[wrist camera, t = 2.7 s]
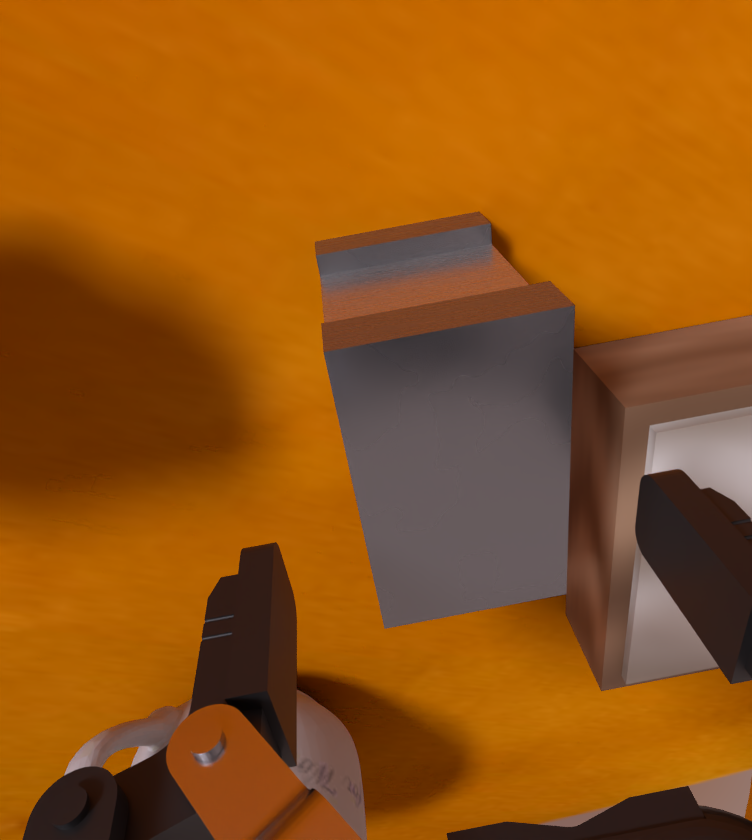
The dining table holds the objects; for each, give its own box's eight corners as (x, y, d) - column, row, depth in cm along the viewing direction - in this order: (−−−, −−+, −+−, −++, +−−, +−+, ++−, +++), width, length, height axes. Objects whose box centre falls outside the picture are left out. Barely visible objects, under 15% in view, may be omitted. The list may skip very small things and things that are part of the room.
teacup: (390, 734, 33) (415, 916, 26) (214, 799, 34) (194, 987, 27) (254, 574, 25) (238, 770, 18) (38, 666, 27) (-49, 878, 20)
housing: (314, 240, 18) (323, 352, 12) (478, 211, 18) (575, 305, 12) (360, 462, 23) (384, 628, 16) (491, 438, 23) (566, 594, 16)
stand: (573, 348, 21) (632, 415, 17) (883, 290, 21) (1007, 344, 18) (565, 614, 29) (605, 699, 25) (794, 570, 29) (867, 649, 25)
